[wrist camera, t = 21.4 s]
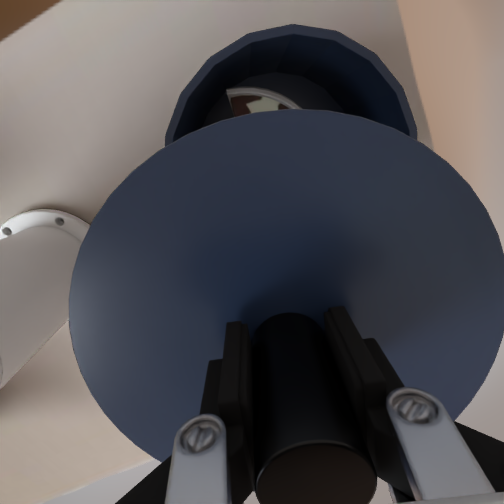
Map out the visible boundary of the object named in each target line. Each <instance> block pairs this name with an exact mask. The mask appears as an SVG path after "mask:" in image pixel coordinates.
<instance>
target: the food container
mask: <svg viewBox="0 0 504 504" xmlns="http://www.w3.org/2000/svg"><path fill="white" fill-rule="evenodd" d="M226 91H227V96H228V99H229V102H230V105H231V108H232V111H233V114H234V117H238V116H242V115H246V114H251V113H255V112H264V111H274V110H284V109H302V108H301V107H300V106H299V105H297V104H296V103H295V102H294V101H292V100H291V99H289V98H287V97H285V96H284V95H282V94H280V93H277V92H274V91H271V90H269V89H265V88H259V87H249V86H239V87H233V88H227V89H226Z"/></svg>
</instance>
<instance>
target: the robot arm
mask: <svg viewBox="0 0 504 504" xmlns="http://www.w3.org/2000/svg"><path fill="white" fill-rule="evenodd" d="M62 219H63V220H64V221H63V220H62ZM89 227H90V225H89V224H87V223H86V222H84V221H83V220H81V219H80V218H78V217H76V216H74V215H71V214H69V213H66V212H62V211H59V210H52V209H37V210H31V211H27V212H24V213H21V214H18V215H16V216H14V217H12V218H10V219H9V220H7V221H6V222H5V223H3V224H2V226H1V227H0V390H1V389H2V387H3V386H4V385H5V384H6V383H7V382H8V381H9V380H10V379H11V378H12V377H13V376H14V375H15V374H16V373H17V372H18V371H19V370H20V369H21V368H22V367H23V366H24V365H25V364H26V363H27V362H28V361H29V360H30V359H31V357H32V356H33V355H34V354H35V353H36V352H37V351H38V350H39V349H40V348H41V347H42V346H43V345H44V344H45V343H46V342H47V341H48V340H49V339H50V338H51V337H52V336H53V335H54V334H55V333H56V332H57V331H58V329H59V328H60V327H61V326H62V325H63V324H64V323H65V322H66V321H69V293H70V286H71V279H72V272H73V269H74V266H75V262H76V259H77V256H78V252H79V249H80V246H81V244H82V242H83V240H84V238H85V236H86V233H87V231H88V229H89ZM324 324H325V334H326V341H327V343H328V346H329V349H330V351H331V354H332V357H333V359H334V362H335V364H336V367H337V370H338V372H339V375H340V377H341V380H342V383H343V385H344V388H345V391H346V393H347V396H348V398H349V401H350V404H351V406H352V409H353V411H354V414H355V417H356V419H357V422H358V425H359V427H360V430H361V432H362V435H363V438H364V440H365V443H366V445H367V448H368V451H369V453H370V456H371V459H372V461H373V464H374V466H375V469H376V473H377V477H379V478H381V479H382V480H384V481H385V482H387V483H388V486H389V491H390V494H391V498H392V501H393V504H504V442H502V441H499V440H496V439H495V438H492V437H490V436H488V435H485V434H483V433H481V432H478V431H476V430H474V429H471V428H469V427H467V426H464V425H462V424H460V423H457V422H455V421H453V420H452V419H451V417H450V416H449V414H448V412H447V411H446V409H445V408H444V406H443V404H442V403H441V402H440V401H439V400H438V398H436V397H435V396H434V395H432V394H431V393H429V392H427V391H425V390H422V389H419V388H414V387H405V386H404V384H403V383H402V381H401V379H400V378H399V376H398V375H397V373H396V371H395V370H394V368H393V367H392V365H391V363H390V362H389V360H388V359H387V357H386V355H385V354H384V352H383V351H382V349H381V347H380V346H379V344H378V343H377V341H376V340H375V338H367V339H362V337H361V335H360V333H359V332H358V330H357V328H356V326H355V325H354V323H353V321H352V319H351V317H350V316H349V314H348V312H347V310H346V308H345V307H344V306H338V307H331V308H329V309H328V312H324ZM252 491H255V487H254V417H253V364H252V345H251V340H250V334H249V329H248V324H242V321H241V320H240V321H234V322H227V324H226V333H225V341H224V350H223V359H216V360H210V361H209V363H208V368H207V374H206V379H205V385H204V391H203V396H202V402H201V408H200V413H199V415H196V416H193V417H192V418H190V419H188V420H187V421H186V422H185V423H184V424H182V425H181V427H180V428H179V430H178V431H177V433H176V436H175V439H174V445H173V452H172V455H170V456H169V457H168V458H167V459H166V460H165V461H164V462H162V463H161V464H160V465H159V466H158V467H157V468H155V469H154V470H153V471H152V472H151V473H150V474H149V475H147V476H146V477H145V478H144V479H143V480H142V481H141V482H139V483H138V484H137V485H136V486H135V487H134V488H133V489H131V490H130V491H129V492H128V493H127V494H126V495H124V496H123V497H122V498H121V499H120V500H119V501H118V502H117V503H115V504H244V501H245V500H246V499H247V497H248V496H249V495H250V494H251V492H252Z"/></svg>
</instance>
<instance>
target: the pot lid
mask: <svg viewBox="0 0 504 504" xmlns="http://www.w3.org/2000/svg"><path fill="white" fill-rule="evenodd" d="M338 306H344V307H345V308H346V310H347V312H348V314H349V316H350V317H351V319H352V321H353V323H354V325H355V326H356V328H357V330H358V332H359V333H360V335H361V337H362V339H367V338H375V340H376V341H377V343H378V344H379V346H380V347H381V349H382V351H383V352H384V354H385V355H386V357H387V359H388V360H389V362H390V363H391V365H392V367H393V368H394V370H395V371H396V373H397V375H398V376H399V378H400V379H401V381H402V383H403V384H404V386H405V387H414V388H419V389H422V390H425V391H427V392H429V393H431V394H432V395H434V396H435V397H436V398H438V400H439V401H440V402H441V403H442V404H443V406H444V408H445V409H446V411H447V412H448V414H449V416H450V417H451V419H452V420H453V421H455V419H456V418H457V417H458V416H459V415H460V414H461V413H462V411H463V410H464V409H465V408H466V407H467V406H468V404H469V403H470V402H471V401H472V399H473V398H474V396H475V394H476V393H477V391H478V390H479V389H480V387H481V386H482V384H483V383H484V381H485V379H486V377H487V375H488V373H489V371H490V369H491V367H492V365H493V363H494V361H495V358H496V355H497V353H498V350H499V347H500V344H501V341H502V338H503V333H504V253H503V250H502V246H501V243H500V239H499V235H498V233H497V231H496V229H495V227H494V225H493V222H492V220H491V218H490V216H489V214H488V212H487V210H486V208H485V207H484V205H483V204H482V202H481V201H480V199H479V198H478V196H477V195H476V193H475V192H474V191H473V189H472V188H471V186H470V185H469V184H468V183H467V182H466V181H465V180H464V179H463V178H462V176H460V174H459V173H458V172H457V171H456V170H455V169H454V168H453V167H452V166H451V165H450V164H449V163H447V161H445V160H444V159H443V158H441V157H440V156H439V155H437V154H436V153H435V152H433V151H432V150H431V149H429V148H428V147H427V146H425V145H424V144H422V143H421V142H419V141H417V140H415V139H413V138H411V137H409V136H407V135H406V134H404V133H402V132H400V131H398V130H396V129H394V128H392V127H389V126H386V125H383V124H380V123H377V122H374V121H372V120H369V119H366V118H363V117H359V116H354V115H349V114H343V113H338V112H333V111H328V110H307V109H284V110H274V111H264V112H255V113H251V114H246V115H242V116H238V117H234V118H230V119H226V120H222V121H219V122H216V123H214V124H211V125H209V126H206V127H204V128H201V129H199V130H196V131H194V132H191V133H189V134H187V135H185V136H183V137H182V138H180V139H178V140H176V141H175V142H173V143H171V144H170V145H168V146H166V147H164V148H163V149H161V150H159V151H158V152H156V153H155V154H154V155H153V156H151V157H150V158H149V159H147V160H146V161H145V162H144V163H142V164H141V165H140V166H139V167H137V168H136V169H135V170H134V171H132V172H131V173H130V174H129V175H128V177H127V178H126V179H125V180H124V181H123V182H122V183H121V184H120V185H119V186H118V187H117V188H116V189H115V190H114V191H113V192H112V194H111V195H110V196H109V197H108V199H107V200H106V202H105V203H104V205H103V206H102V208H101V209H100V211H99V212H98V213H97V215H96V216H95V218H94V219H93V221H92V223H91V225H90V227H89V229H88V231H87V233H86V236H85V238H84V240H83V242H82V244H81V246H80V249H79V252H78V256H77V259H76V262H75V266H74V269H73V272H72V279H71V286H70V293H69V328H70V334H71V339H72V345H73V350H74V353H75V356H76V360H77V363H78V366H79V369H80V372H81V374H82V376H83V378H84V380H85V382H86V384H87V386H88V388H89V390H90V392H91V394H92V396H93V397H94V399H95V400H96V402H97V403H98V405H99V406H100V408H101V409H102V410H103V412H104V413H105V414H106V416H107V417H108V418H109V419H110V420H111V421H112V422H113V424H114V425H115V426H116V427H117V428H118V429H119V430H120V431H121V432H122V433H123V434H124V435H125V436H126V437H127V438H129V439H130V440H131V441H132V442H133V443H134V444H135V445H136V446H138V447H139V448H141V449H142V450H143V451H145V452H146V453H148V454H149V455H151V456H152V457H153V458H155V459H157V460H159V461H160V462H164V461H165V460H166V459H167V458H168V457H169V456H170V455H172V452H173V445H174V439H175V436H176V433H177V431H178V430H179V428H180V427H181V425H182V424H184V423H185V422H186V421H187V420H188V419H190V418H192V417H193V416H196V415H199V413H200V408H201V402H202V396H203V391H204V385H205V379H206V374H207V368H208V363H209V361H210V360H216V359H223V350H224V341H225V333H226V324H227V322H234V321H240V320H241V321H242V324H248V329H249V334H250V340H251V345H252V364H253V417H254V487H255V493H256V497H257V499H258V501H259V503H260V504H369V503H370V501H371V499H372V498H373V496H374V494H375V491H376V487H377V473H376V469H375V466H374V464H373V461H372V459H371V456H370V453H369V451H368V448H367V445H366V443H365V440H364V438H363V435H362V432H361V430H360V427H359V425H358V422H357V419H356V417H355V414H354V411H353V409H352V406H351V404H350V401H349V398H348V396H347V393H346V391H345V388H344V385H343V383H342V380H341V377H340V375H339V372H338V370H337V367H336V364H335V362H334V359H333V357H332V354H331V351H330V349H329V346H328V343H327V341H326V334H325V324H324V312H328V309H329V308H331V307H338Z"/></svg>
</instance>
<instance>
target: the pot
mask: <svg viewBox="0 0 504 504" xmlns="http://www.w3.org/2000/svg"><path fill="white" fill-rule="evenodd" d="M239 86H249V87H259V88H265V89H269V90H271V91H274V92H277V93H280V94H282V95H284V96H285V97H287V98H289V99H291V100H292V101H294V102H295V103H296V104H297V105H299V106H300V107H301V108H302V109H307V110H328V111H333V112H338V113H343V114H349V115H354V116H359V117H363V118H366V119H369V120H372V121H374V122H377V123H380V124H383V125H386V126H389V127H392V128H394V129H396V130H398V131H400V132H402V133H404V134H406V135H407V136H409V137H411V138H413V139H415V140H417V127H416V124H415V121H414V118H413V115H412V112H411V109H410V106H409V104H408V101H407V98H406V95H405V92H404V89H403V87H402V86H401V85H400V83H399V82H398V81H397V80H396V78H395V77H394V76H393V75H392V73H391V72H390V71H389V70H388V68H387V67H386V66H385V65H384V63H383V62H382V61H381V60H380V58H379V57H378V56H377V55H376V54H375V53H374V52H372V51H370V50H369V49H367V48H365V47H364V46H362V45H360V44H359V43H357V42H355V41H353V40H352V39H350V38H348V37H347V36H345V35H343V34H342V33H340V32H337V31H334V30H328V29H322V28H315V27H309V26H303V25H297V24H290V25H285V26H281V27H276V28H271V29H266V30H262V31H257V32H252V33H249V34H246V35H245V36H243V37H241V38H240V39H238V40H237V41H235V42H234V43H232V44H230V45H229V46H227V47H226V48H224V49H222V50H221V51H219V52H218V53H216V54H214V55H213V56H211V57H210V59H208V60H207V61H206V62H205V64H204V65H203V66H202V67H201V69H200V70H199V71H198V72H197V74H196V75H195V76H194V77H193V79H192V80H191V81H190V82H189V84H188V85H187V86H186V87H185V89H184V90H183V91H182V92H181V94H180V97H179V99H178V102H177V105H176V107H175V110H174V113H173V116H172V118H171V121H170V124H169V126H168V129H167V132H166V136H165V147H166V146H168V145H170V144H171V143H173V142H175V141H176V140H178V139H180V138H182V137H183V136H185V135H187V134H189V133H191V132H194V131H196V130H199V129H201V128H204V127H206V126H209V125H211V124H214V123H216V122H219V121H222V120H226V119H230V118H234V114H233V111H232V108H231V105H230V102H229V99H228V96H227V91H226V89H227V88H233V87H239Z"/></svg>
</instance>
